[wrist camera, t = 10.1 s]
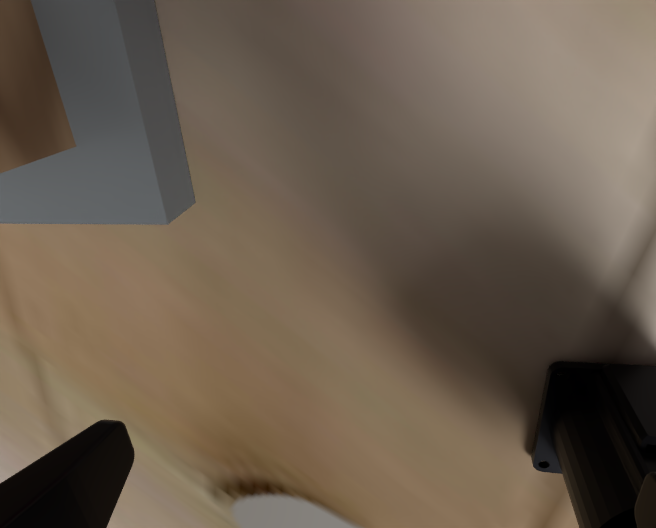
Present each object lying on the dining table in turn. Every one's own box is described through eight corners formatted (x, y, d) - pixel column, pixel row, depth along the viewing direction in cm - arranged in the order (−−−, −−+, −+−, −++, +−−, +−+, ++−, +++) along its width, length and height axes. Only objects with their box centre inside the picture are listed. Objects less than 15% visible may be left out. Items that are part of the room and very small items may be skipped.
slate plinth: (195, 202, 20) (167, 224, 18) (-19, 203, 22) (-68, 222, 20) (129, -121, 15) (79, -145, 13) (-140, -81, 17) (-224, -97, 15)
